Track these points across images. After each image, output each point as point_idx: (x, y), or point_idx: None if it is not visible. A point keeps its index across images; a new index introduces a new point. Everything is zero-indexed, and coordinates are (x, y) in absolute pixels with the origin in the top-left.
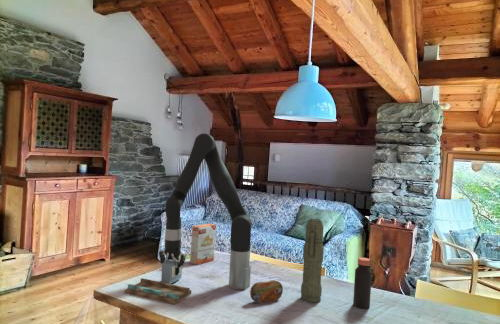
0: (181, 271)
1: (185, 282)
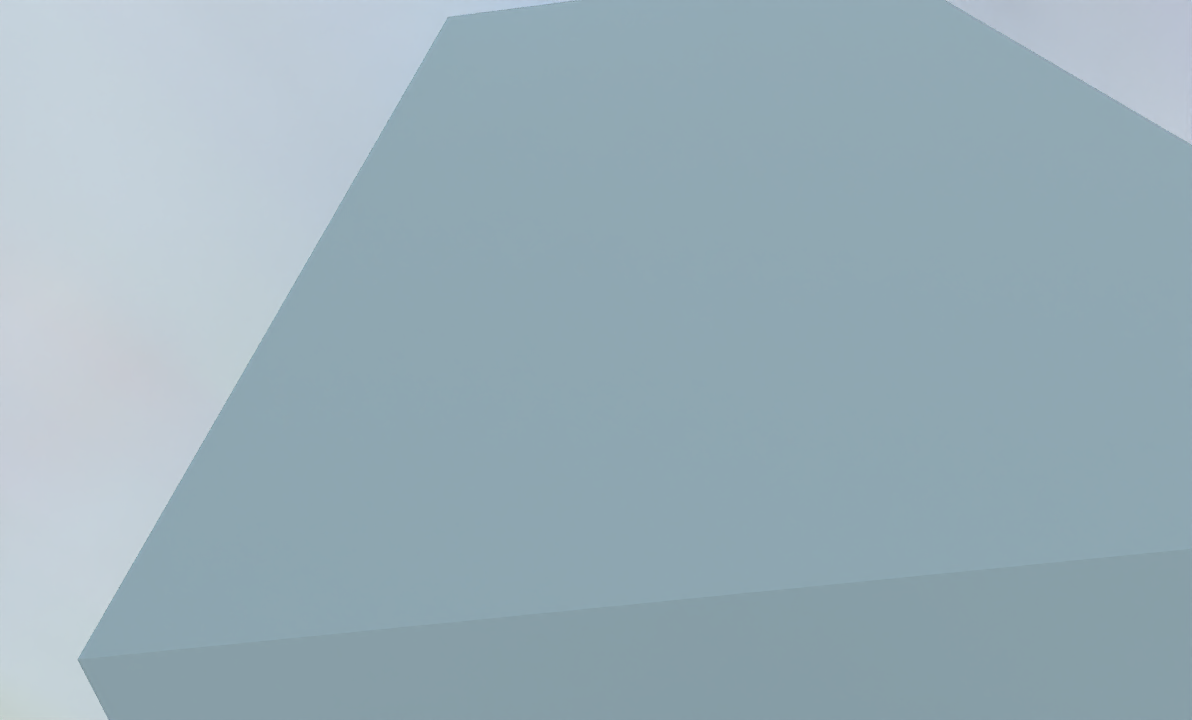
0: (978, 32)
1: (1147, 78)
